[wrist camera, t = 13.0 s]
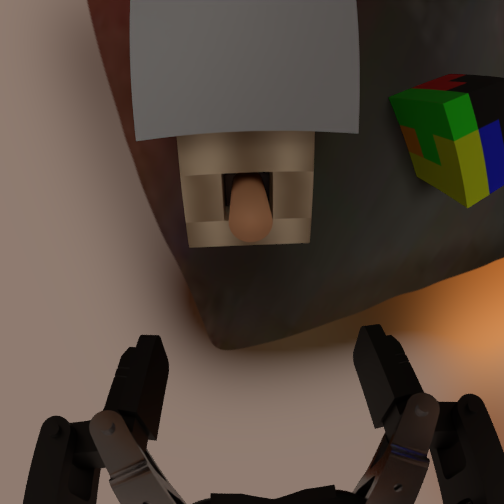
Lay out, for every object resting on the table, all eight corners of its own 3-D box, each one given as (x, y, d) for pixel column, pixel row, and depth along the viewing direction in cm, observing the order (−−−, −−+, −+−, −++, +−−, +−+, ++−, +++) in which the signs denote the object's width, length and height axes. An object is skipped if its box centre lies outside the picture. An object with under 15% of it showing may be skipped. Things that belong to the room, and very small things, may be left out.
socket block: (304, 61, 24) (314, 55, 20) (302, 226, 33) (309, 242, 29) (181, 65, 24) (172, 60, 20) (194, 230, 33) (189, 247, 29)
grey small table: (305, -21, 19) (344, -79, 8) (310, 117, 27) (358, 133, 16) (175, -17, 19) (137, -75, 8) (179, 122, 27) (136, 141, 15)
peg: (262, 168, 29) (272, 201, 21) (263, 197, 31) (272, 241, 22) (231, 169, 29) (227, 203, 21) (232, 198, 31) (230, 243, 22)
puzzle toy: (471, 147, 28) (524, 170, 19) (416, 176, 30) (467, 208, 21) (449, 74, 24) (507, 78, 15) (388, 97, 26) (443, 103, 17)
